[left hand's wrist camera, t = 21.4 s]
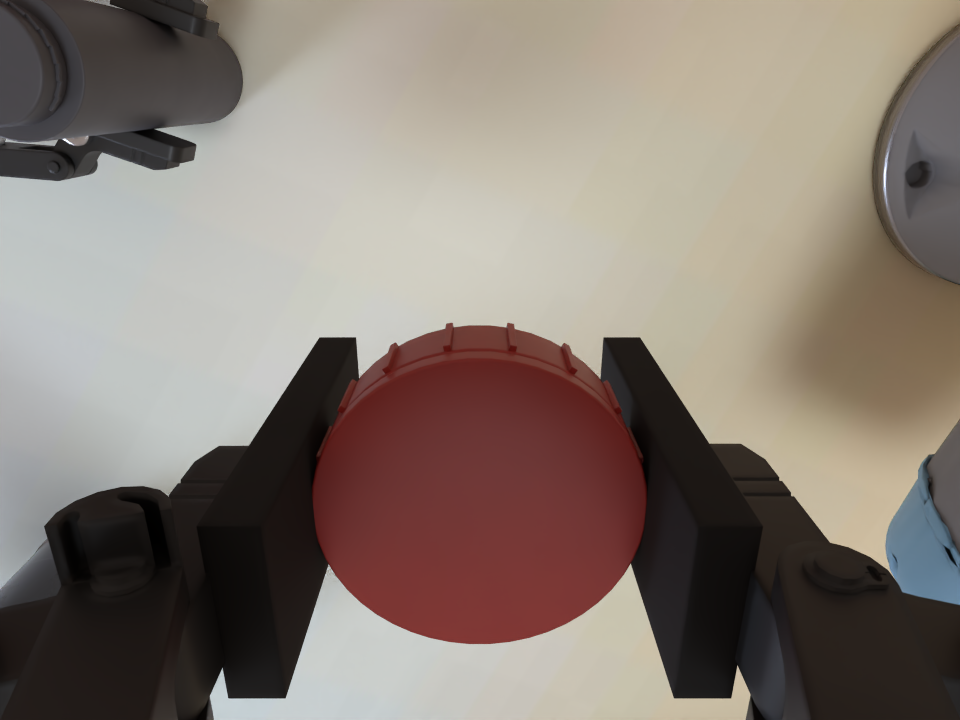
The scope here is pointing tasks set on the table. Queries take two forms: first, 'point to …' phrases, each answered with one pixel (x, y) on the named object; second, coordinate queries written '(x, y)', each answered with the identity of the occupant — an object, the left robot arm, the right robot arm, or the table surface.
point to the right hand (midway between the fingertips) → (198, 93)
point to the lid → (479, 486)
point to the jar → (105, 72)
